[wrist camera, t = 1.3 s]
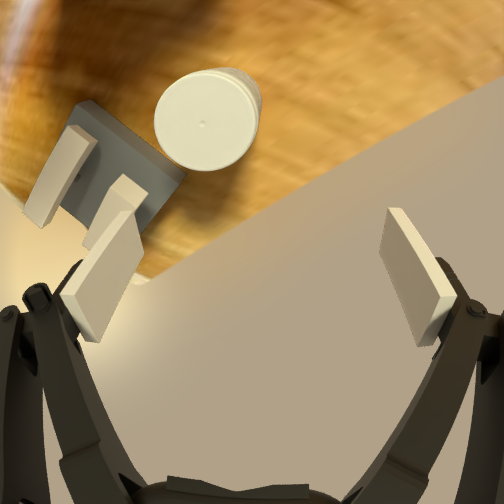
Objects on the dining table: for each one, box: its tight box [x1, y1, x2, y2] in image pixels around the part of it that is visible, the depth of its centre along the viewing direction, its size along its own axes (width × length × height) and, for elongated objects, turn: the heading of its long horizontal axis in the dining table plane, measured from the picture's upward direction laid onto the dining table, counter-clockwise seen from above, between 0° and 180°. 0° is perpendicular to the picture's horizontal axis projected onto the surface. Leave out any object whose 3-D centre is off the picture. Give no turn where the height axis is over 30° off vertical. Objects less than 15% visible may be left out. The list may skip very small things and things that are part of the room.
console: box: [55, 99, 187, 235], centre depth 41 cm, size 19×16×7 cm
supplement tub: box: [154, 67, 262, 171], centre depth 31 cm, size 10×10×15 cm
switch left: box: [22, 125, 98, 229], centre depth 35 cm, size 4×14×3 cm, turn 138°
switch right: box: [82, 174, 148, 251], centre depth 38 cm, size 4×14×3 cm, turn 138°
